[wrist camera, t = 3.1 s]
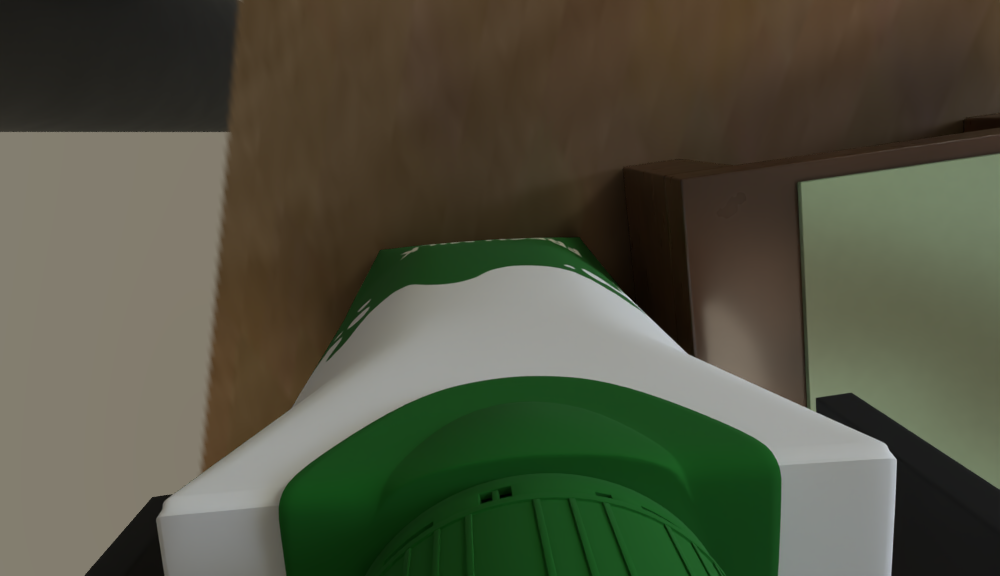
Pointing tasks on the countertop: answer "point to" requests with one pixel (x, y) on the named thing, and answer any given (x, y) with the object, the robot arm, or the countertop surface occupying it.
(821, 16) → the countertop surface
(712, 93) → the countertop surface
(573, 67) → the countertop surface
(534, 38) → the countertop surface
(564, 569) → the milk carton
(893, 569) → the robot arm
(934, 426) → the brown wooden stand
